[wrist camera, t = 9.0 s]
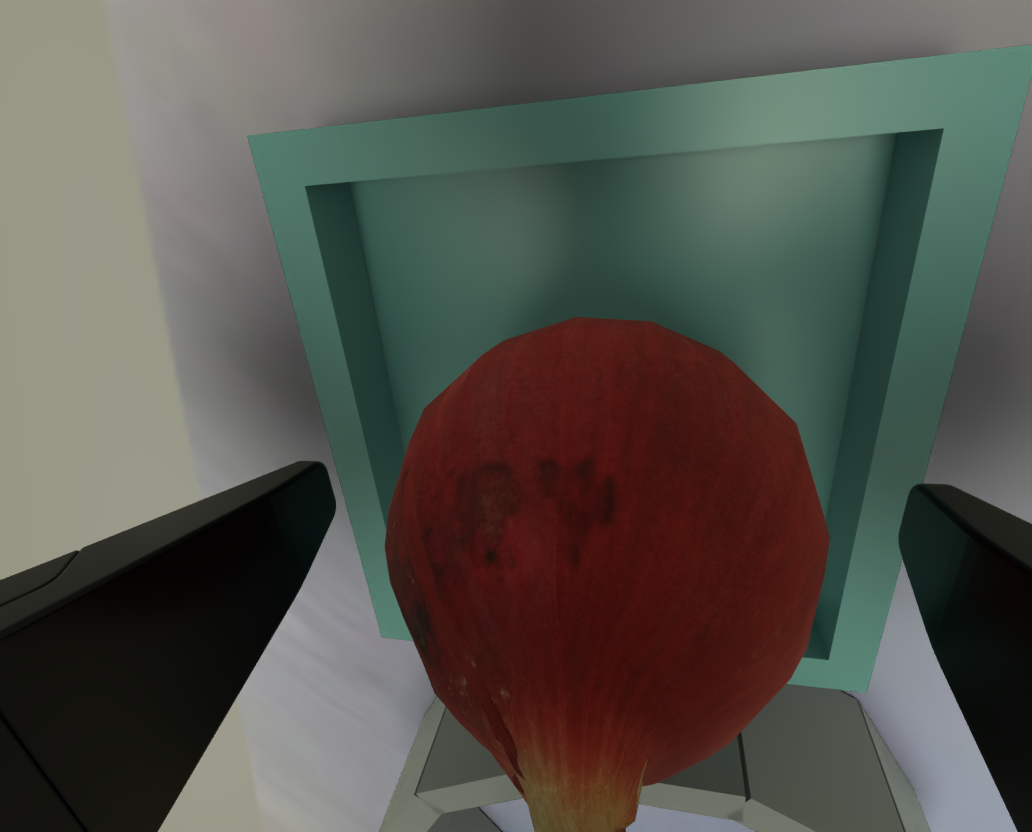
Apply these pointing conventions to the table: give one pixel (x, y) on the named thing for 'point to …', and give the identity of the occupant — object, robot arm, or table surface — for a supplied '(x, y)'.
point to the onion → (605, 559)
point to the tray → (666, 271)
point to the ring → (696, 774)
